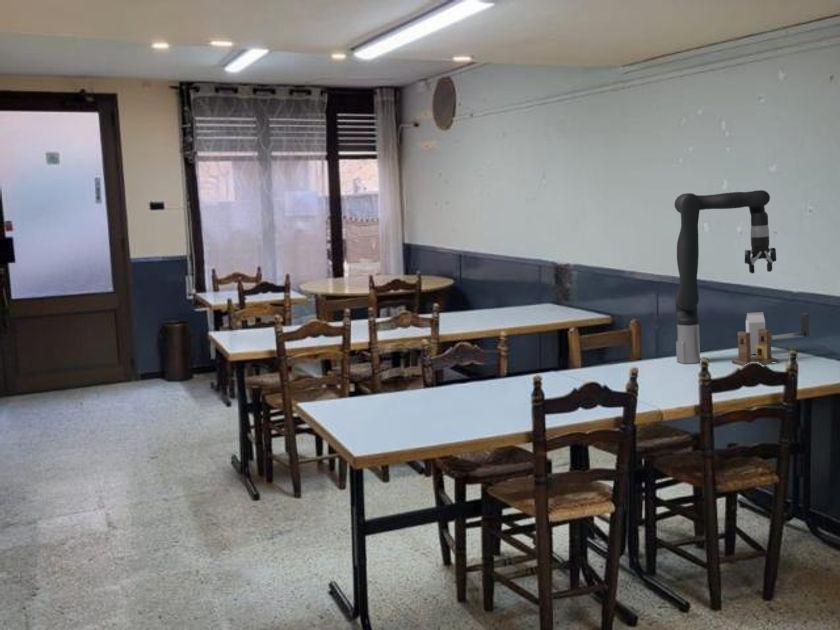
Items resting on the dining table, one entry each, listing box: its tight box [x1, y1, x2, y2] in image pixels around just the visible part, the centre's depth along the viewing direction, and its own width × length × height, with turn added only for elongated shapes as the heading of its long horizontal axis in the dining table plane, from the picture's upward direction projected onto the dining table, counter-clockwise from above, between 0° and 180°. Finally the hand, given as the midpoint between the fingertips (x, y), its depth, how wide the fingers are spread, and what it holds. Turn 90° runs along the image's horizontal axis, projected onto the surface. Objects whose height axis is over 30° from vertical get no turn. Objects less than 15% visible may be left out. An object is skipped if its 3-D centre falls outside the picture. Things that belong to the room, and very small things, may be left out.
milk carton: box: [745, 311, 766, 354], centre depth 385 cm, size 7×7×19 cm
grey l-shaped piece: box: [771, 312, 810, 341], centre depth 367 cm, size 21×3×10 cm, turn 103°
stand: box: [731, 328, 780, 367], centre depth 365 cm, size 16×10×14 cm, turn 103°
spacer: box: [755, 344, 767, 360], centre depth 366 cm, size 2×6×6 cm, turn 13°
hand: (760, 272), depth 373 cm, fingers open, 8 cm apart
